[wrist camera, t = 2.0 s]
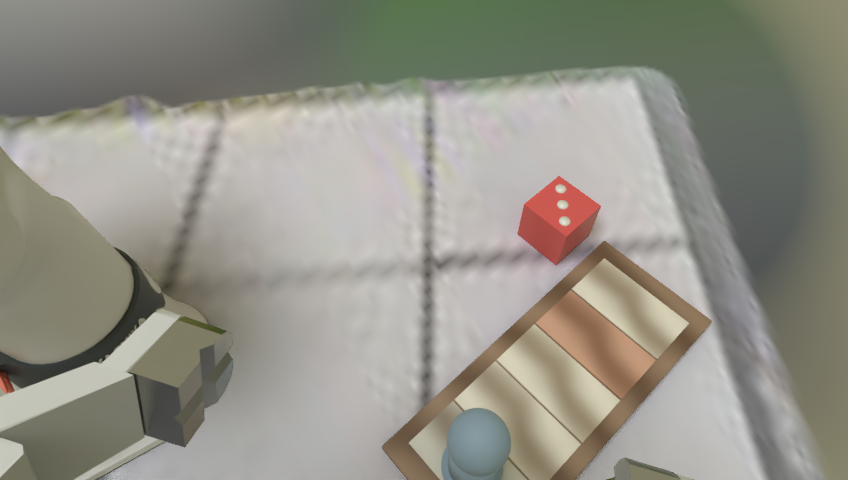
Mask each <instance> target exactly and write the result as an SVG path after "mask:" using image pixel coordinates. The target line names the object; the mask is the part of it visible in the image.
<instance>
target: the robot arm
mask: <svg viewBox="0 0 848 480" xmlns="http://www.w3.org/2000/svg"><path fill="white" fill-rule="evenodd" d="M232 344H233V343H232V333H230V332H228V331H225V330H222V329H220V328H217V327H214V326H211V325H208V323H207V321H206V320H205V318H204V317H203V316H202V315H201V314H200V313H199V312H198V311H197V310H196V309H195V308H193V307H191V306H190V305H187V304H185V303H182V302H179V301H176V300H174V299H172V298H171V297H169V296H167V295H166V294H164V293H163V292H161V289H160V287H159V286H158V284H157V283H156V282H155V281H154V279H153V278H152V277H151V276H150V275H149V274H148V273H147V272H146V271H145V270H144V268H143V267H142V266H141V265H140V264H139V263H137V262H136V261H134V260H133V259H131V258H130V257H129V256H128V255H127V254H126V253H124V252H123V251H121V250H119V249H117V248H115V247H113V246H112V245H111V244H110V243H109V242H108V241H107V240H106V239H105V238H104V237H103V236H102V235H101V234H100V233H99V232H98V231H97V230H96V229H95V228H94V227H93V226H92V225H91V224H90V223H89V222H88V221H87V220H86V219H85V218H84V217H83V216H82V215H81V214H80V213H79V212H78V210H77V209H76V208H75V207H74V206H73V205H72V204H71V203H69V202H67V201H66V200H64V199H62V198H59V197H56V196H53V195H51V194H49V193H48V192H47V191H45V190H44V189H43V188H42V187H40V186H39V185H38V184H37V183H35V182H34V181H33V180H32V179H31V178H30V177H29V176H27V175H26V174H25V173H24V172H23V171H22V170H21V169H20V168H19V167H18V166H17V165H16V164H15V163H14V162H13V161H12V160H11V158H10V157H9V156H8V155H7V154H6V153H5V152H4V150H3V149H2V148H1V147H0V480H95V479H97V478H99V477H101V476H103V475H104V474H106V473H108V472H110V471H112V470H114V469H115V468H117V467H119V466H121V465H123V464H124V463H126V462H128V461H130V460H132V459H133V458H135V457H137V456H139V455H141V454H143V453H144V452H146V451H148V450H150V449H152V448H153V447H155V446H157V445H159V444H161V443H162V442H164V441H166V442H169V443H172V444H175V445H179V446H182V447H186V445H187V444H188V442H189V441H190V440H191V438H192V437H193V435H194V434H195V433H196V431H197V430H198V428H199V427H200V426H201V424H202V423H203V421H204V408H207V407H209V406H211V405H213V404H215V403H217V402H218V400H219V399H220V397H221V396H222V394H223V393H224V391H225V389H226V387H227V385H228V382H229V380H230V378H231V374H232V369H233V359H232V357H231V356H230V355H229V353H228V352H227V351H228V350H229V348H230V347H231V346H232ZM614 473H615V477H613V478H610V479H607V480H694V479H690V478H687V477H684V476H681V475H678V474H675V473H673V472H670V471H667V470H664V469H660V468H657V467H654V466H651V465H647V464H644V463H641V462H637V461H634V460H631V459H628V458H623V459H621V460H619V461H618V463H617V464H616V465H615V467H614Z"/></svg>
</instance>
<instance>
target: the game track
mask: <svg viewBox="0 0 848 480" xmlns="http://www.w3.org/2000/svg"><path fill="white" fill-rule="evenodd" d="M711 322H712V321H711V320H710V319H709V318H707V317H706V316H705V315H703V314H702V313H701V312H699V311H698V310H697V309H695V308H694V307H693V306H691V305H690V304H689V303H687V302H686V301H684V300H683V299H682V298H680V297H679V296H678V295H676V294H675V293H674V292H672V291H671V290H670V289H668V288H667V287H666V286H664V285H663V284H662V283H660V282H659V281H658V280H656V279H655V278H654V277H652V276H651V275H650V274H648V273H647V272H646V271H644V270H643V269H642V268H640V267H639V266H638V265H636V264H635V263H634V262H632V261H631V260H630V259H628V258H627V257H626V256H624V255H623V254H622V253H620V252H619V251H618V250H616V249H615V248H614V247H612V246H611V245H610V244H608V243H607V242H606V241H604V242H602V243H601V244H600V245H599V246H598V247H597V248H596V249H595V250H594V251H593V252H592V253H591V254H589V255H588V256H587V257H586V258H585V259H584V260H583V261H582V262H581V263H580V264H579V265H578V266H576V267H575V268H574V269H573V270H572V271H571V272H570V273H569V274H568V275H567V276H566V277H565V278H563V279H562V280H561V281H560V282H559V283H558V284H557V285H556V286H555V287H554V288H553V289H552V290H551V291H549V292H548V293H547V294H546V295H545V296H544V297H543V298H542V299H541V300H540V301H539V302H538V303H536V304H535V305H534V306H533V307H532V308H531V309H530V310H529V311H528V312H527V313H526V314H525V315H523V316H522V317H521V318H520V319H519V320H518V321H517V322H516V323H515V324H514V325H513V326H512V327H510V328H509V329H508V330H507V331H506V332H505V333H504V334H503V335H502V336H501V337H500V338H499V339H497V340H496V341H495V342H494V343H493V344H492V345H491V346H490V347H489V348H488V349H487V350H486V351H485V352H483V353H482V354H481V355H480V356H479V357H478V358H477V359H476V360H475V361H474V362H473V363H472V364H470V365H469V366H468V367H467V368H466V369H465V370H464V371H463V372H462V373H461V374H460V375H459V376H457V377H456V378H455V379H454V380H453V381H452V382H451V383H450V384H449V385H448V386H447V387H446V388H444V389H443V390H442V391H441V392H440V393H439V394H438V395H437V396H436V397H435V398H434V399H433V400H431V401H430V402H429V403H428V404H427V405H426V406H425V407H424V408H423V409H422V410H421V411H420V412H419V413H417V414H416V415H415V416H414V417H413V418H412V419H411V420H410V421H409V422H408V423H407V424H406V425H404V426H403V427H402V428H401V429H400V430H399V431H398V432H397V433H396V434H395V435H394V436H393V437H391V438H390V439H389V440H388V441H387V442H386V443H385V444H384V445H383V446H382V449H383V450H384V452H385V453H386V454H387V455H388V456H389V458H390V459H391V460H392V461H393V463H394V464H395V465H396V466H397V467H398V469H399V470H400V471H401V472H402V474H403V475H404V476H405V477H406V478H407V480H444V479H443V475H442V470H441V462H442V456H443V453H444V450H445V448H446V447H447V435H448V431H449V428H450V425H451V423H452V422H453V420H454V419H455V418H456V417H457V416H458V415H459V414H460V413H462V412H464V411H466V410H468V409H472V408H484V409H488V410H490V411H492V412H494V413H496V414H497V415H498V416H499V417H500V418H501V419H502V420H503V421H504V422H505V424H506V426H507V428H508V430H509V433H510V437H511V450H510V454H509V457H508V459H507V461H506V462H505V464H504V465H503V476H502V479H501V480H574V479H575V478H576V477H577V476H578V475H579V474H580V472H581V471H582V470H583V469H584V468H585V467H586V466H587V464H588V463H589V462H590V461H591V460H592V459H593V458H594V456H595V455H596V454H597V453H598V452H599V451H600V450H601V448H602V447H603V446H604V445H605V444H606V443H607V441H608V440H609V439H610V438H611V437H612V436H613V435H614V433H615V432H616V431H617V430H618V429H619V428H620V427H621V425H622V424H623V423H624V422H625V421H626V420H627V419H628V417H629V416H630V415H631V414H632V413H633V412H634V410H635V409H636V408H637V407H638V406H639V405H640V404H641V402H642V401H643V400H644V399H645V398H646V397H647V396H648V394H649V393H650V392H651V391H652V390H653V389H654V388H655V386H656V385H657V384H658V383H659V382H660V381H661V379H662V378H663V377H664V376H665V375H666V374H667V373H668V371H669V370H670V369H671V368H672V367H673V366H674V365H675V363H676V362H677V361H678V360H679V359H680V358H681V357H682V355H683V354H684V353H685V352H686V351H687V350H688V348H689V347H690V346H691V345H692V344H693V343H694V342H695V340H696V339H697V338H698V337H699V336H700V335H701V334H702V332H703V331H704V330H705V329H706V328H707V327H708V326H709V324H710V323H711Z"/></svg>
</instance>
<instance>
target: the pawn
mask: <svg viewBox="0 0 848 480" xmlns="http://www.w3.org/2000/svg"><path fill="white" fill-rule="evenodd" d="M510 450H511V437H510V433H509V430H508V428H507V426H506V424H505V422H504V421H503V420H502V419H501V418H500V417H499V416H498V415H497V414H496V413H494V412H492V411H490V410H488V409H484V408H472V409H468V410H466V411H464V412H462V413H460V414H459V415H458V416H457V417H456V418H455V419H454V420H453V422H452V423H451V425H450V428H449V431H448V435H447V447H446V448H445V450H444V453H443V456H442V462H441V470H442V475H443V479H444V480H501V479H502V476H503V465H504V464H505V462H506V461H507V459H508V457H509V454H510Z"/></svg>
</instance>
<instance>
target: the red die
mask: <svg viewBox="0 0 848 480" xmlns="http://www.w3.org/2000/svg"><path fill="white" fill-rule="evenodd" d="M600 207H601V206H600V205H599V204H597V203H596V202H595V201H593V200H592V199H591V198H589V197H588V196H586V195H585V194H584V193H582V192H581V191H579V190H578V189H577V188H575V187H574V186H572V185H571V184H570V183H568V182H567V181H565V180H564V179H563V178H561V177H560V176H558V177H557V178H556V179H555V180H554V181H552V182H551V183H550V184H549V185H547V186H546V187H545V188H544V189H542V190H541V191H540V192H539V193H538V194H536V195H535V196H534V197H533V198H531V199H530V200H529V201H528V202H526V203H525V204H524V208H523V212H522V217H521V221H520V226H519V230H518V235H519V236H521V237H522V238H523V239H524V240H525V241H527V242H528V243H529V244H530V245H532V246H533V247H534V248H535V249H537V250H538V251H539V252H540V253H542V254H543V255H544V256H545V257H546V258H548V259H549V260H550V261H551V262H553V263H554V264H555V265H557V264H558V263H559V262H560V261H561V260H562V259H563V258H564V257H566V256H567V255H568V254H569V253H570V252H571V251H572V250H573V249H574V248H576V247H577V246H578V245H579V244H580V243H581V242H582V241H583V240H584V239H586V238H587V237H588V236H589V233H590V231H591V229H592V226H593V224H594V221H595V219H596V217H597V214H598V212H599V210H600Z"/></svg>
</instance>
